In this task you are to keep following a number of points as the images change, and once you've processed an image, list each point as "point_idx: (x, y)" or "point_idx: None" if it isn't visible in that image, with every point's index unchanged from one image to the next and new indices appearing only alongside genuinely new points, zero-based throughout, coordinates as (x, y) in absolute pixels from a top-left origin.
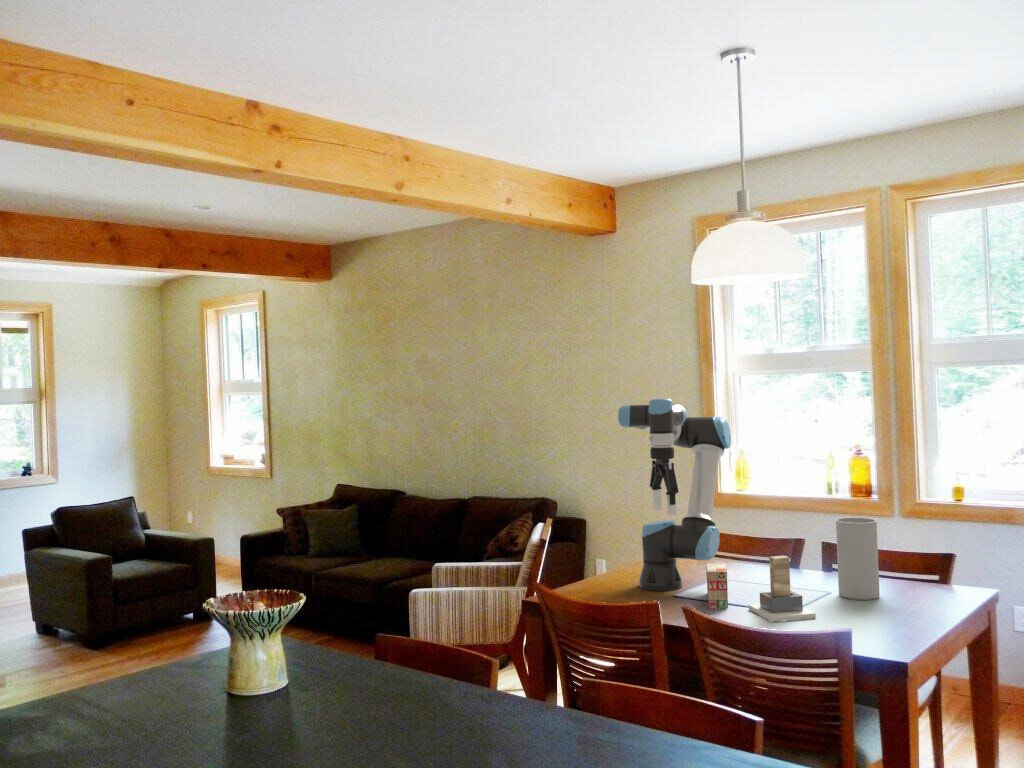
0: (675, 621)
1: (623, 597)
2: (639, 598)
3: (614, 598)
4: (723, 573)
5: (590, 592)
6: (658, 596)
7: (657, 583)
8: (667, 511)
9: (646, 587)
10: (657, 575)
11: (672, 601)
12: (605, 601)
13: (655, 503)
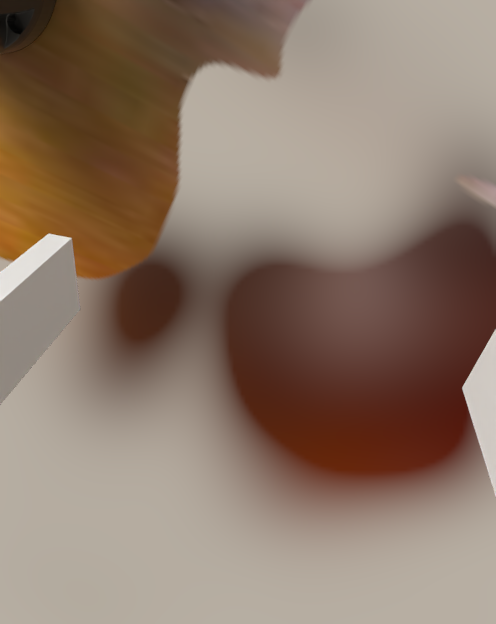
0: (489, 186)
1: (117, 179)
2: (146, 137)
3: (122, 210)
4: None
5: (29, 236)
6: (138, 53)
7: (35, 8)
8: (476, 416)
9: (22, 46)
10: (5, 1)
11: (233, 41)
12: (151, 250)
13: (45, 334)
